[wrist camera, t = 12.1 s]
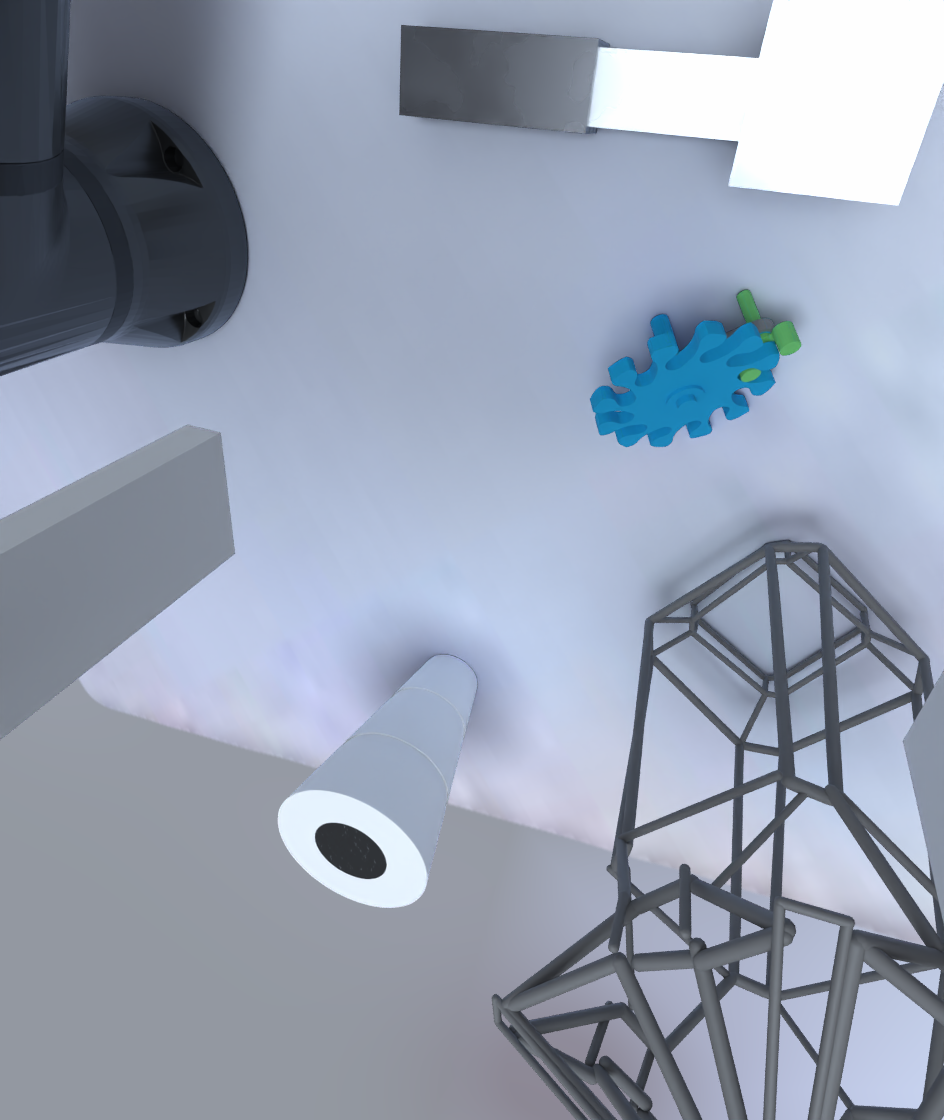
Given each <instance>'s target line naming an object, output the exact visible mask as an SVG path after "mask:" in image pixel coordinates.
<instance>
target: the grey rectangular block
mask: <svg viewBox="0 0 944 1120" xmlns="http://www.w3.org/2000/svg"><path fill="white" fill-rule="evenodd" d="M943 81H944V0H773V3H772V8H771V12H770V16H769V20H768V24H767V28H766V32H765V36H764V40H763V44H762V49H761V53H760V57H759V61H758V65H757V69H756V73H755V77H754V81H753V85H752V90H751V94H750V98H749V102H748V106H747V110H746V114H745V118H744V122H743V127H742V131H741V135H740V139H739V143H738V147H737V151H736V155H735V159H734V163H733V168H732V172H731V176H730V180H729V184H728V186H732V187H741V188H750V189H758V190H767V191H776V192H785V193H793V194H802V195H811V196H819V197H828V198H837V199H846V200H854V201H863V202H872V203H880V204H889V205H899V202H900V199H901V197H902V194H903V191H904V188H905V186H906V183H907V180H908V177H909V175H910V172H911V169H912V166H913V164H914V161H915V158H916V155H917V153H918V150H919V147H920V144H921V142H922V139H923V136H924V133H925V130H926V128H927V125H928V122H929V119H930V117H931V114H932V111H933V108H934V106H935V103H936V100H937V97H938V95H939V92H940V89H941V86H942V84H943Z"/></svg>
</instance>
